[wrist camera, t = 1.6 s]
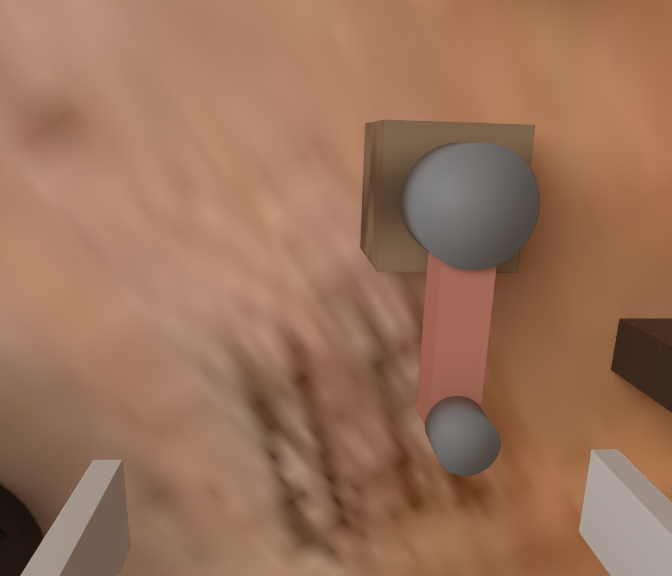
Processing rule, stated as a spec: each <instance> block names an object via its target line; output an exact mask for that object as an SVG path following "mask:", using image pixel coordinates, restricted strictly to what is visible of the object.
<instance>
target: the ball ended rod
mask: <svg viewBox="0 0 672 576" xmlns="http://www.w3.org/2000/svg"><path fill="white" fill-rule="evenodd" d="M539 205H540V199H539V190H538V185H537V182H536V179H535V177H534V175H533V173H532V171H531V169H530V168H529V166H528V165H527V164H526V162H525V161H524V160H523V159H522V158H521V157H520V156H518V155H517V154H516V153H514V152H513V151H511V150H509V149H507V148H505V147H503V146H500V145H496V144H491V143H466V142H458V143H449V144H445V145H441V146H438V147H436V148H434V149H432V150H431V151H429V152H427V153H426V154H425V155H423V156H422V157H421V158H420V159H419V160H418V161H417V162H416V163H415V164H414V166H413V167H412V168H411V170H410V171H409V173H408V175H407V177H406V179H405V182H404V184H403V188H402V192H401V214H402V218H403V221H404V224H405V226H406V228H407V230H408V232H409V233H410V235H411V236H412V237H413V238H414V240H415V241H416V242H418V243H419V244H420V245H421V246H422V247H424V248H425V249H426V250H427V251H428V264H427V278H426V291H425V305H424V318H423V332H422V345H421V359H420V372H419V386H418V399H417V411H418V413H419V415H420V417H421V419H422V421H423V423H424V425H425V431H426V434H427V437H428V439H429V441H430V443H431V445H432V447H433V449H434V451H435V453H436V455H437V457H438V459H439V461H440V463H441V465H442V466H443V467H444V468H445V469H446V470H447V471H449V472H450V473H453V474H456V475H460V476H470V475H475V474H478V473H480V472H482V471H484V470H485V469H487V468H488V467H489V466H490V465H491V464H492V463H493V462H494V461H495V459H496V458H497V456H498V453H499V450H500V437H499V434H498V432H497V430H496V429H495V427H494V426H493V425H492V423H491V422H490V420H489V419H488V418H487V416H486V415H485V414H484V412H483V411H482V410H481V407H482V397H483V388H484V379H485V369H486V360H487V351H488V341H489V332H490V323H491V313H492V304H493V295H494V285H495V276H496V267H497V265H499V264H501V263H503V262H505V261H506V260H508V259H510V258H511V257H512V256H513V255H515V254H516V253H517V252H518V251H519V250H520V249H521V248H522V247H523V246H524V244H525V243H526V242H527V240H528V239H529V237H530V235H531V234H532V232H533V230H534V227H535V225H536V222H537V218H538V213H539Z"/></svg>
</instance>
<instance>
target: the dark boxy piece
mask: <svg viewBox="0 0 672 576" xmlns="http://www.w3.org/2000/svg"><path fill="white" fill-rule="evenodd" d="M611 370H612V371H614V372H615V373H617V374H618V375H619V376H621V377H622V378H624V379H625V380H627V381H628V382H629V383H631V384H632V385H634V386H635V387H636V388H638V389H639V390H641V391H642V392H644V393H645V394H646V395H648V396H649V397H651V398H652V399H653V400H655V401H656V402H658V403H659V404H661V405H662V406H663V407H665V408H666V409H668V410H669V411H670V412H672V319H620V320H619V326H618V332H617V338H616V344H615V350H614V356H613V362H612V367H611Z"/></svg>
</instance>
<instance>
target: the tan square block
mask: <svg viewBox="0 0 672 576" xmlns="http://www.w3.org/2000/svg"><path fill="white" fill-rule="evenodd" d="M534 128H535V125H520V124H491V123H462V122H433V121H404V120H381V121H376V122H371V123H366V124H365V148H364V172H363V196H362V220H361V244H360V248H361V249H362V251H363V252H364V254H365V255H366V256H367V258H368V259H369V261H370V262H371V264H372V265H373V266H374V268H375V269H376V271H377V272H427V264H428V251H427V250H426V249H425V248H424V247H422V246H421V245H420V244H419V243H418V242H416V241H415V240H414V238H413V237H412V236H411V235H410V233H409V232H408V230H407V228H406V226H405V224H404V221H403V218H402V214H401V192H402V188H403V184H404V182H405V179H406V177H407V175H408V173H409V171H410V170H411V168H412V167H413V166H414V164H415V163H416V162H417V161H418V160H419V159H420V158H421V157H422V156H423V155H425V154H426V153H427V152H429V151H431V150H432V149H434V148H436V147H438V146H441V145H445V144H449V143H458V142H466V143H491V144H496V145H500V146H503V147H505V148H507V149H509V150H511V151H513V152H514V153H516V154H517V155H518V156H520V157H521V158H522V159H523V160H524V161H525V162H526V164H527V165H528V166H529V168H530V162H531V154H532V145H533V137H534ZM519 256H520V250H519V251H518V252H517V253H516V254H515V255H513V256H512V257H511V258H510V259H508V260H506V261H505V262H503V263H501V264H499V265H497V267H496V273H518V265H519Z"/></svg>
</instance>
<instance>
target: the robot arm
mask: <svg viewBox="0 0 672 576" xmlns="http://www.w3.org/2000/svg"><path fill="white" fill-rule="evenodd" d="M579 532H580V534H581V535H582V537H583V538H584V539H585V541H586V542H587V544H588V545H589V546H590V548H591V549H592V551H593V552H594V553H595V555H596V556H597V558H598V559H599V560H600V562H601V563H602V565H603V566H604V567H605V569H606V570H607V572H608V573H609V574H610V576H672V502H671V501H670V500H669V499H668V498H667V497H666V496H665V495H664V494H663V493H662V492H661V491H660V490H659V489H658V488H657V487H656V486H655V485H654V484H653V483H652V482H651V481H650V480H649V479H647V478H646V477H645V476H644V475H643V474H642V473H641V472H640V471H639V470H638V469H637V468H636V467H635V466H634V465H633V464H632V463H631V462H630V461H629V460H628V459H627V458H626V457H625V456H624V455H623V454H622V453H621V452H620V451H619V450H618V449H599V450H592V451H591V457H590V463H589V470H588V476H587V482H586V489H585V495H584V501H583V508H582V514H581V520H580V527H579ZM129 547H130V537H129V527H128V516H127V505H126V495H125V484H124V473H123V463H122V460H93V461H92V463H91V464H90V466H89V467H88V469H87V470H86V472H85V474H84V475H83V477H82V478H81V480H80V482H79V483H78V485H77V486H76V488H75V490H74V491H73V493H72V494H71V496H70V498H69V499H68V501H67V502H66V504H65V505H64V507H63V509H62V510H61V512H60V513H59V515H58V517H57V518H56V520H55V521H54V523H53V525H52V526H51V528H50V529H49V531H48V533H47V534H46V536H45V537H44V539H42V536H41V533H40V531H39V529H38V526H37V525H36V523H35V521H34V519H33V518H32V516H31V515H30V514H29V512H28V511H27V510H26V509H25V507H24V506H23V505H22V504H21V503H20V502H19V501H18V500H17V499H16V498H15V497H14V496H12V495H11V494H10V493H9V492H7V491H6V490H5V489H3V488H2V487H0V576H118V575H119V572H120V570H121V567H122V565H123V562H124V560H125V557H126V555H127V552H128V550H129Z"/></svg>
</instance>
